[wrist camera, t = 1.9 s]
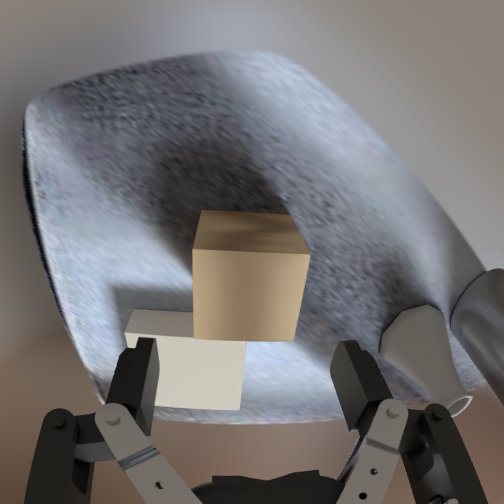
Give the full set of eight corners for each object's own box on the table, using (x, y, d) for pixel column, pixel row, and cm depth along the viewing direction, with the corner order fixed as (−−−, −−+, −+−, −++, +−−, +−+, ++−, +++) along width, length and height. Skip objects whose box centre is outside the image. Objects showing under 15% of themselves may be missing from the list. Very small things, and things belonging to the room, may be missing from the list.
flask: (396, 300, 26) (450, 382, 17) (451, 303, 27) (505, 371, 18) (367, 359, 29) (402, 440, 20) (421, 357, 30) (460, 426, 21)
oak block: (290, 214, 22) (310, 254, 16) (279, 288, 24) (292, 341, 19) (201, 209, 21) (192, 249, 16) (200, 285, 24) (194, 339, 18)
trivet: (244, 314, 25) (246, 339, 22) (238, 385, 29) (239, 410, 26) (133, 308, 24) (124, 332, 22) (146, 380, 28) (141, 403, 26)
